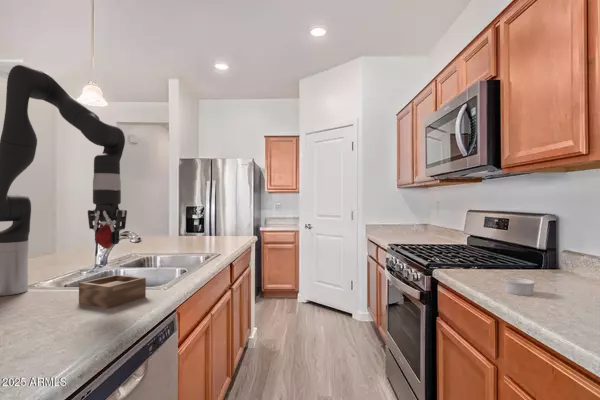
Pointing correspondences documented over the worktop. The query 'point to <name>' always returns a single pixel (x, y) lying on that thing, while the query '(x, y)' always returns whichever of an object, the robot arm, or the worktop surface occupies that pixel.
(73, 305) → the worktop surface
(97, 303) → the wooden box
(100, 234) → the onion
